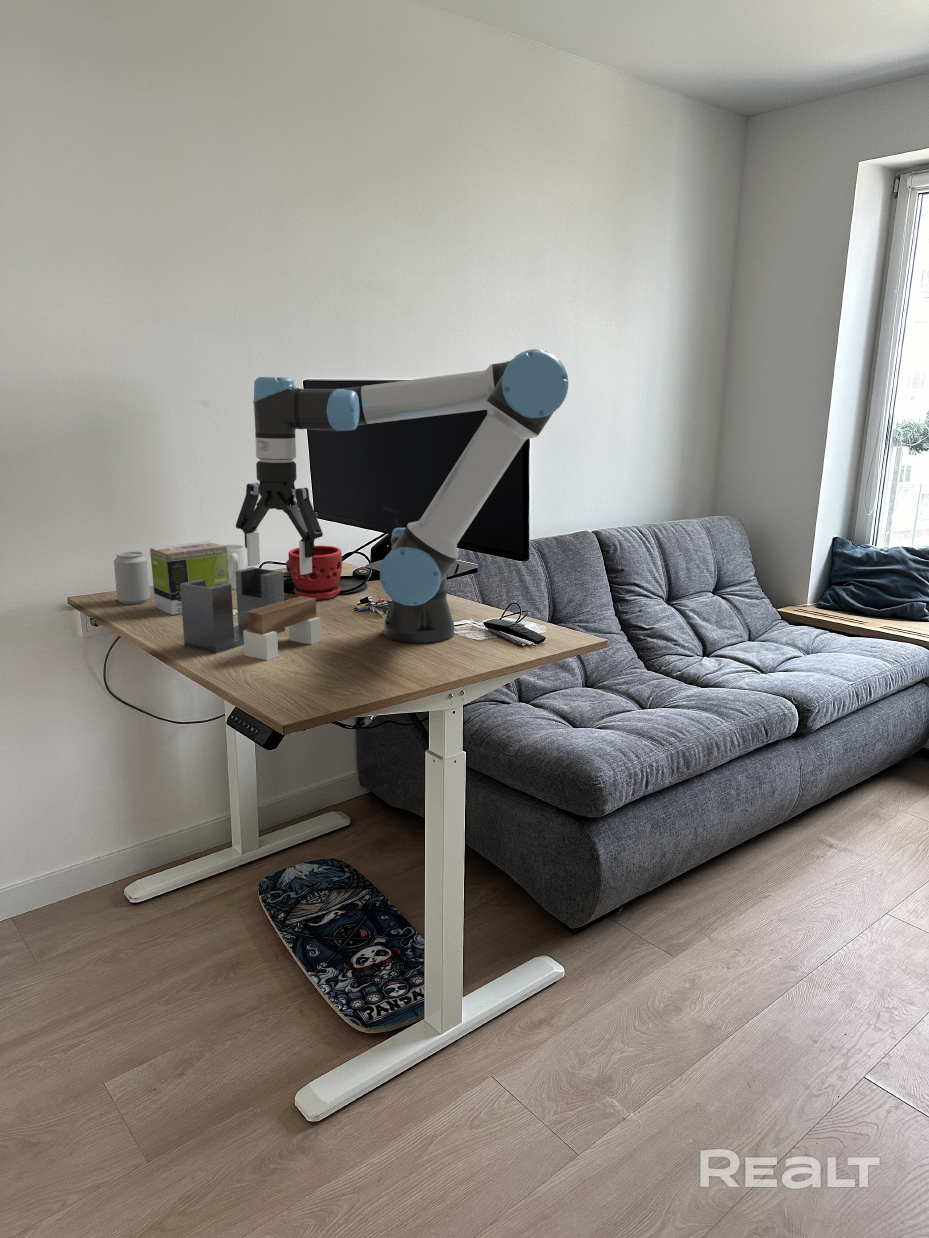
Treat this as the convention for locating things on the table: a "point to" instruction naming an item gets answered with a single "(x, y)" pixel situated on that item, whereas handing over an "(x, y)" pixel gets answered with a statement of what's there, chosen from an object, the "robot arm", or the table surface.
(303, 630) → the blocks
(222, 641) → the brackets
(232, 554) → the mug
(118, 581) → the can
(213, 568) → the tea box
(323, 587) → the plant pot
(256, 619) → the rail
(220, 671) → the table surface
